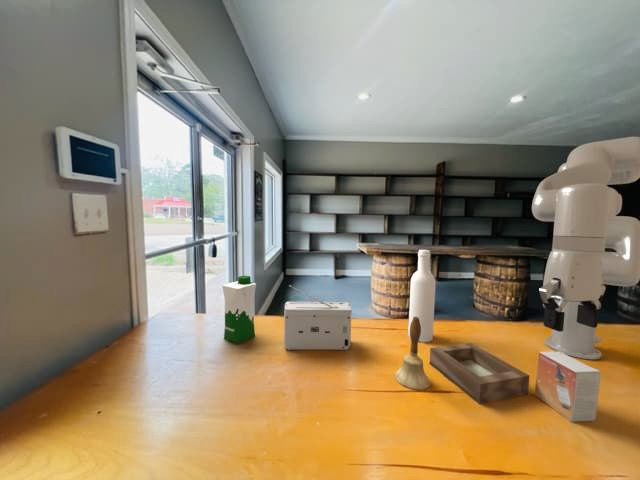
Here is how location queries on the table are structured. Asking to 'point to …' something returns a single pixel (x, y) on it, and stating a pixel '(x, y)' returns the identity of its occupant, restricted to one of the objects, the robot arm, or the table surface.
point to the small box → (567, 386)
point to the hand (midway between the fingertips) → (570, 326)
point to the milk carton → (239, 309)
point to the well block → (479, 372)
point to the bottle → (423, 297)
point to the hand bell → (413, 363)
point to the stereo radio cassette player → (317, 325)
